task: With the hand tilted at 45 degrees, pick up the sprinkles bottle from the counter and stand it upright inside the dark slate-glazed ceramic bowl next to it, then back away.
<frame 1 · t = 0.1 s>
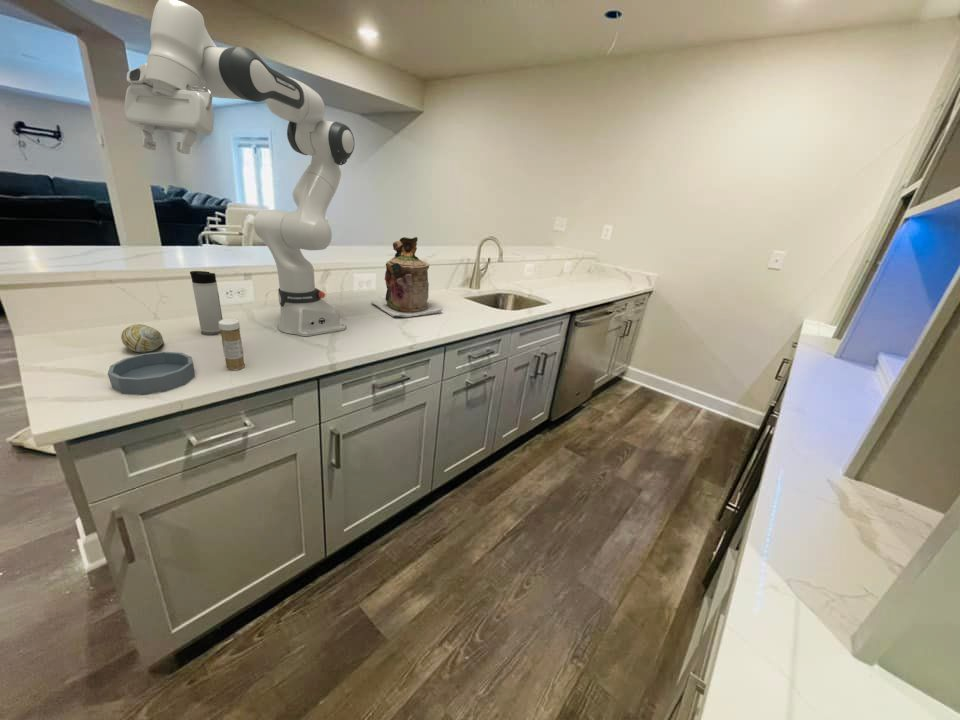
hand: (165, 150, 83), 52 cm above the countertop, tool tilted 20°, fingers open, 8 cm apart
travel mug: (212, 332, 125), on the countertop
seashell: (147, 349, 109), on the countertop
cookie jar: (406, 309, 173), on the countertop
sprinkles bottle: (236, 367, 105), on the countertop
slate bowl: (155, 379, 95), on the countertop
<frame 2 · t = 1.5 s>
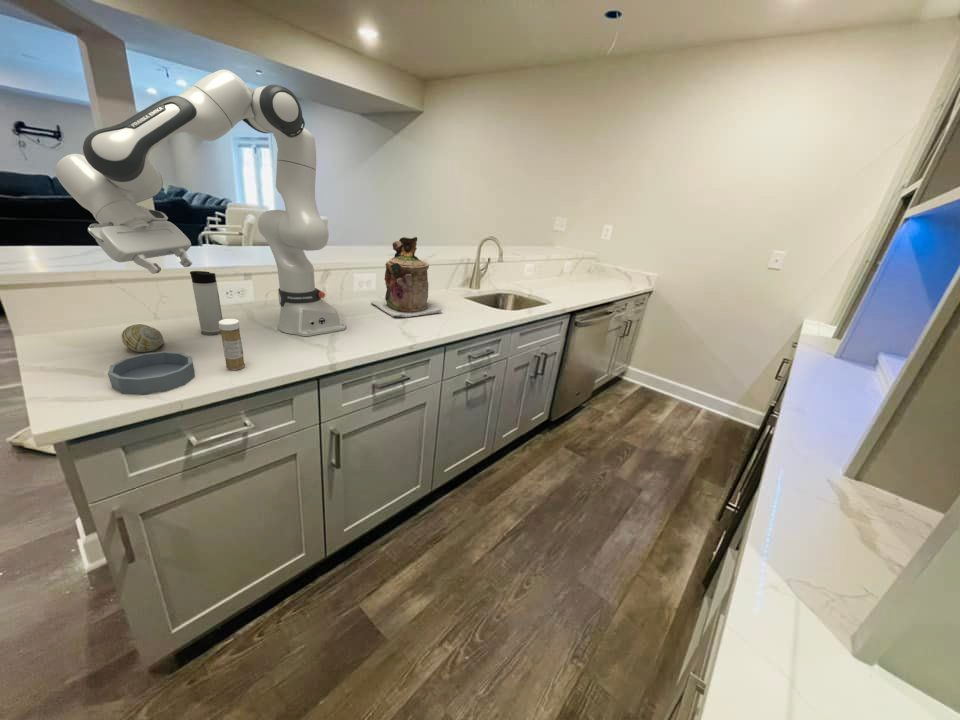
hand: (174, 268, 95), 25 cm above the countertop, tool tilted 45°, fingers open, 8 cm apart
nothing on the countertop moved.
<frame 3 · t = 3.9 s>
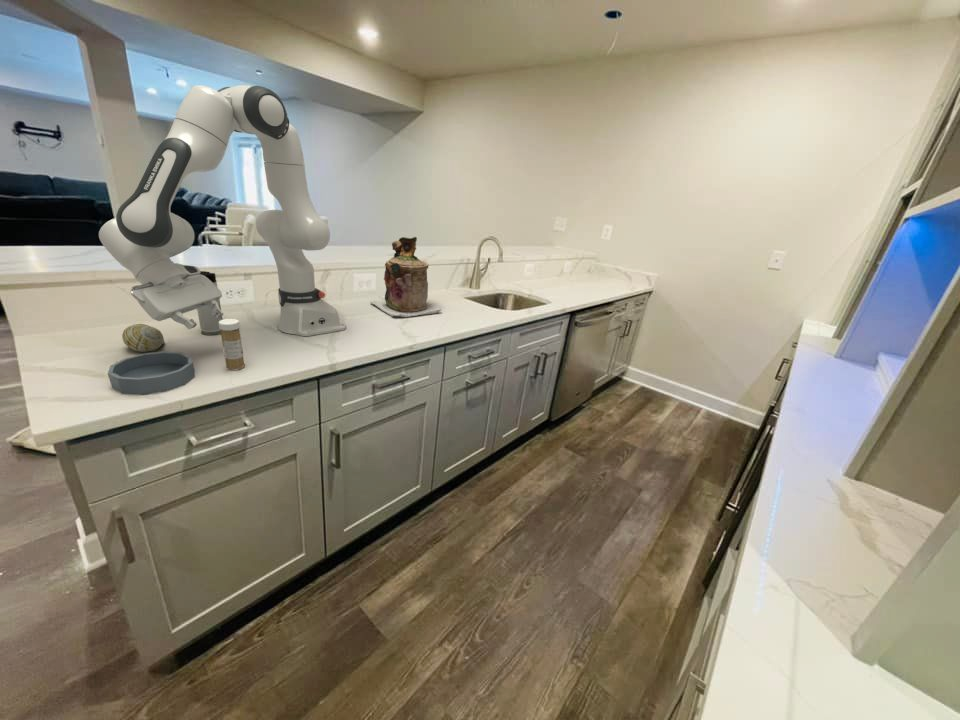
hand: (207, 321, 100), 12 cm above the countertop, tool tilted 45°, fingers open, 8 cm apart
nothing on the countertop moved.
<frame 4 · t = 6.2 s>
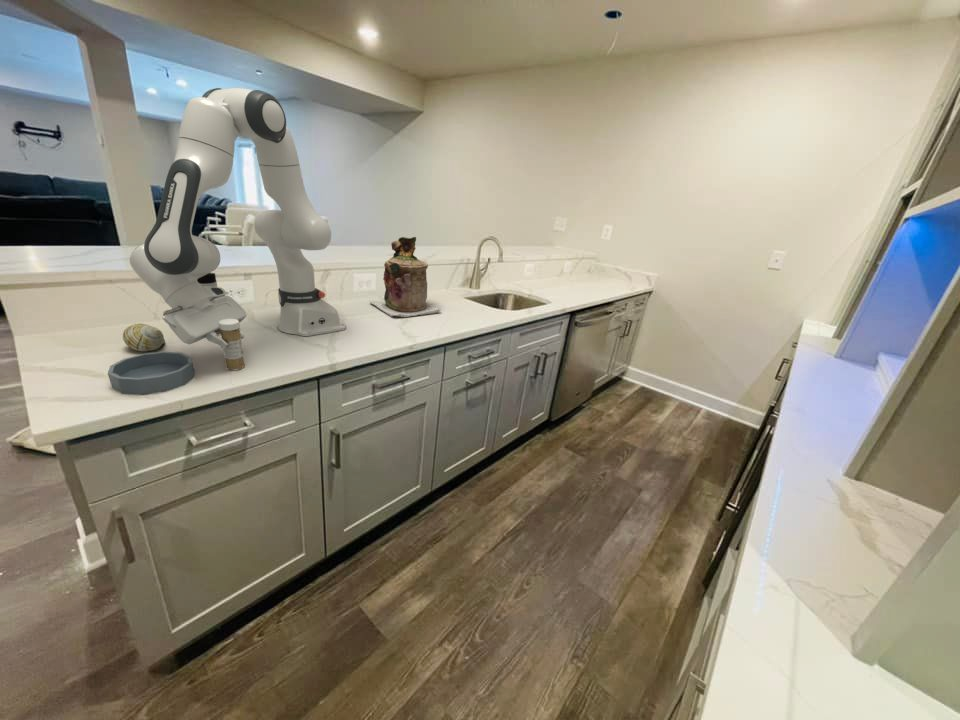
hand: (234, 342, 102), 7 cm above the countertop, tool tilted 45°, fingers closed on sprinkles bottle, 4 cm apart
sprinkles bottle: (236, 367, 105), on the countertop, touching gripper
everything else where it was.
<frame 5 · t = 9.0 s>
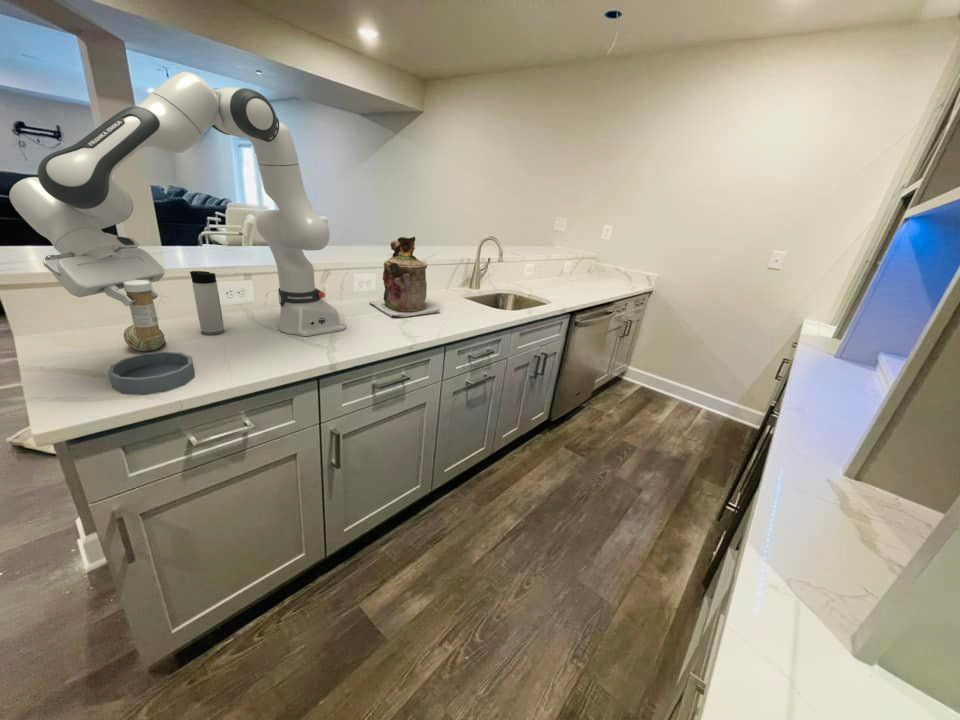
hand: (143, 300, 87), 20 cm above the countertop, tool tilted 45°, fingers closed on sprinkles bottle, 4 cm apart
sprinkles bottle: (149, 338, 91), point 11 cm above the countertop, touching gripper
everything else where it was.
when the fingers open (10 cm above the countertop, at t = 11.8 s): sprinkles bottle stays where it is, resting on slate bowl.
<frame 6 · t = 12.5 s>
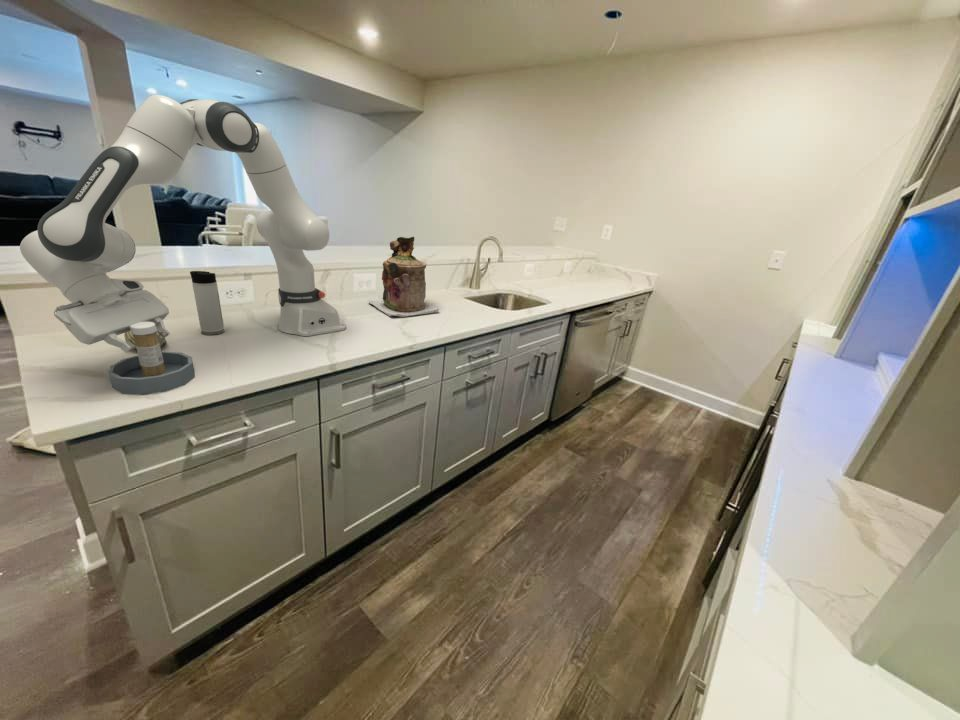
hand: (149, 342, 91), 10 cm above the countertop, tool tilted 45°, fingers open, 8 cm apart
sprinkles bottle: (155, 376, 94), point 1 cm above the countertop, touching slate bowl
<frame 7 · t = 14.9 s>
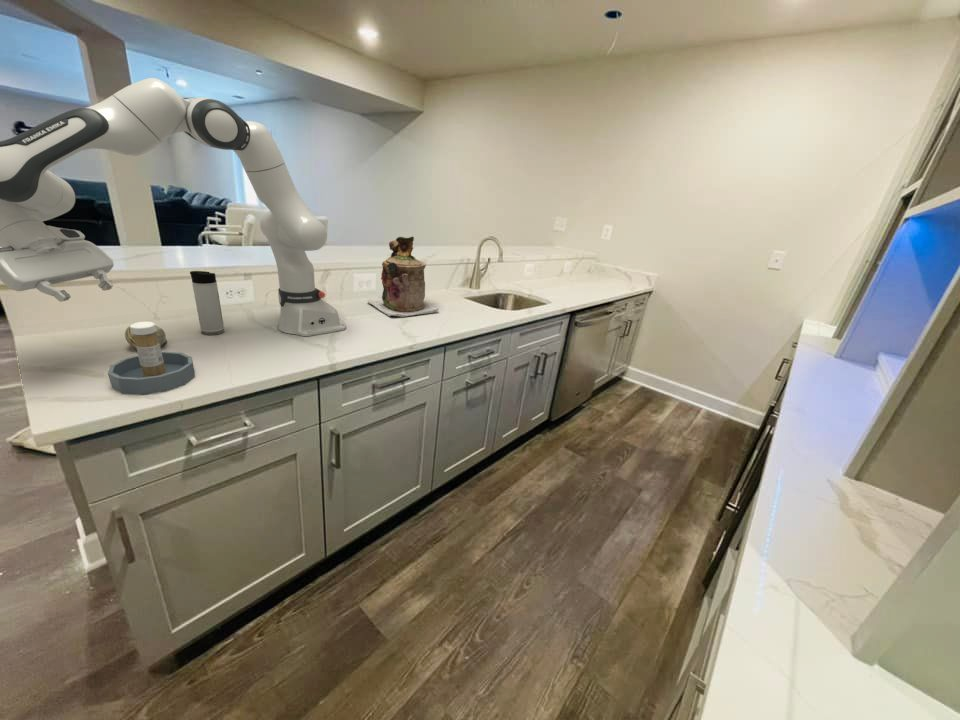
hand: (88, 293, 88), 20 cm above the countertop, tool tilted 45°, fingers open, 8 cm apart
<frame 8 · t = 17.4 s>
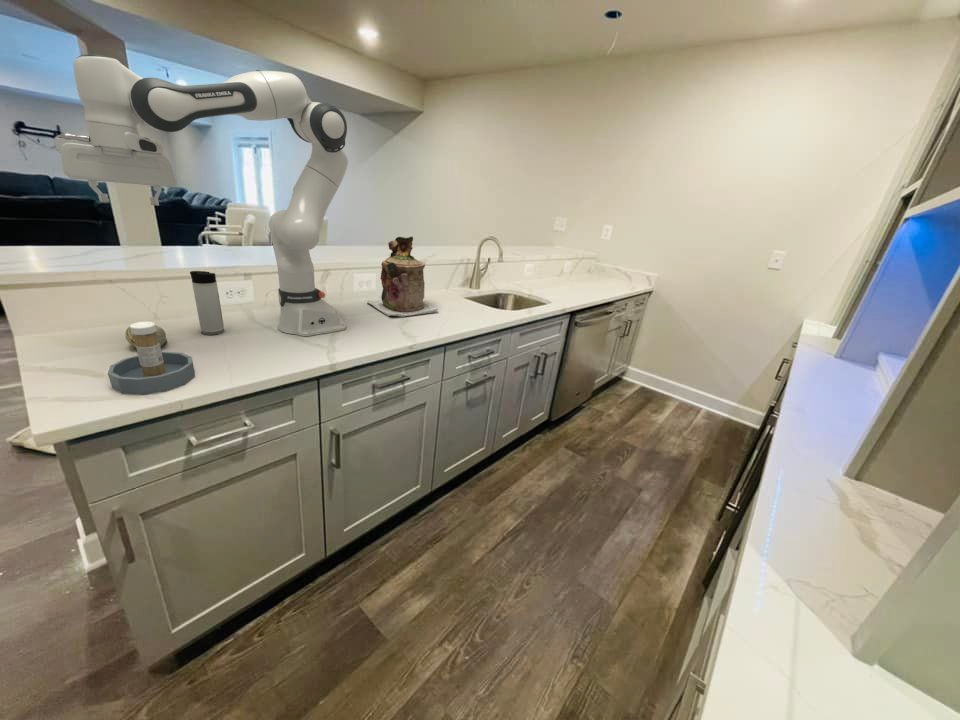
hand: (130, 203, 94), 39 cm above the countertop, tool pointing down, fingers open, 8 cm apart
at the end: sprinkles bottle inside the target area on the slate bowl (0.0 cm from its centre), point 0.8 cm above the slate bowl's base; sprinkles bottle tilted 0°; the gripper is holding nothing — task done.
